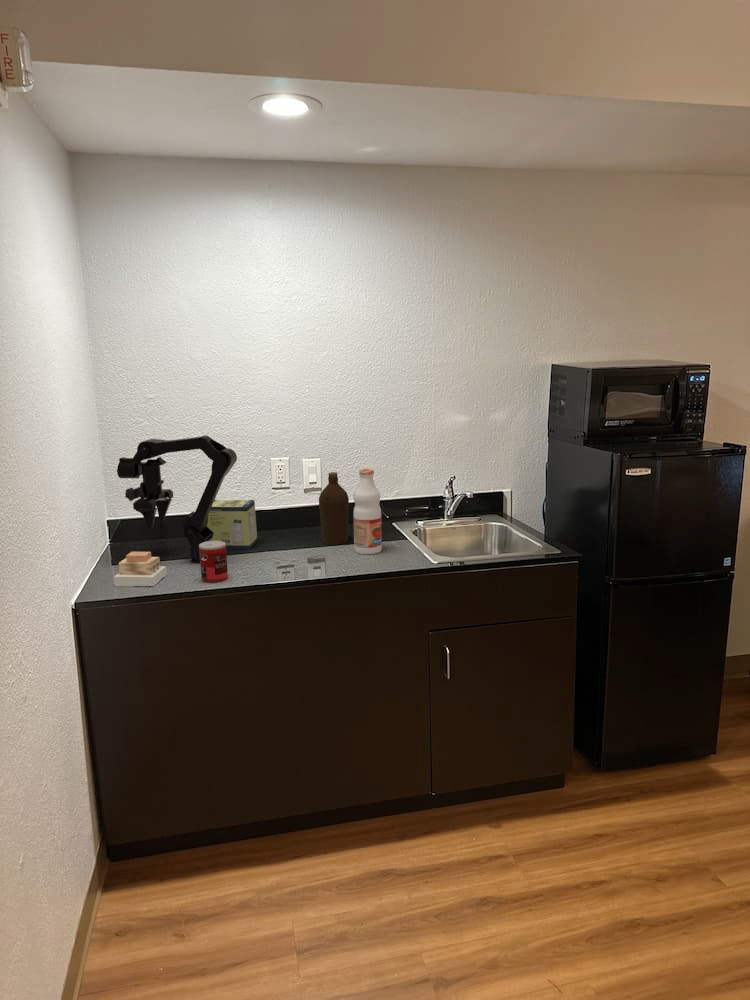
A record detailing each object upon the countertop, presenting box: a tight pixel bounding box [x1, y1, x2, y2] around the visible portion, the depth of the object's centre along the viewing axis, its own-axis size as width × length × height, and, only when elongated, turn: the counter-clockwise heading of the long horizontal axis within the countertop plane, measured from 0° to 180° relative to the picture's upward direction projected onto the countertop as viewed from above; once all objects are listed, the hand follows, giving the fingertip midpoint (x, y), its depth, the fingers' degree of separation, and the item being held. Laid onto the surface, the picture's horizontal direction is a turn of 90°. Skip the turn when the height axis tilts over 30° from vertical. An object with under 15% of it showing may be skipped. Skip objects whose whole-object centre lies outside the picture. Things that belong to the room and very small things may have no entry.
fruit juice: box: [352, 468, 383, 555], centre depth 230 cm, size 9×9×28 cm
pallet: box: [118, 556, 161, 575], centre depth 206 cm, size 10×6×4 cm, turn 85°
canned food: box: [199, 541, 229, 583], centre depth 207 cm, size 8×8×11 cm
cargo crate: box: [125, 551, 152, 562], centre depth 206 cm, size 6×4×2 cm, turn 85°
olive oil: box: [318, 471, 350, 546], centre depth 242 cm, size 11×11×25 cm
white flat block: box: [113, 565, 168, 587], centre depth 207 cm, size 12×10×3 cm
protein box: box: [207, 499, 258, 551], centre depth 241 cm, size 10×16×16 cm
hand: (156, 524), depth 225 cm, fingers open, 9 cm apart
